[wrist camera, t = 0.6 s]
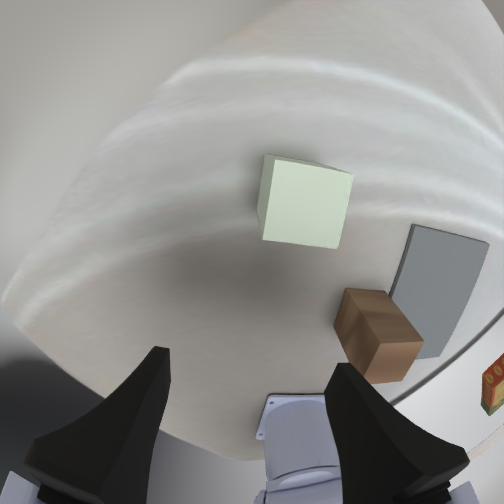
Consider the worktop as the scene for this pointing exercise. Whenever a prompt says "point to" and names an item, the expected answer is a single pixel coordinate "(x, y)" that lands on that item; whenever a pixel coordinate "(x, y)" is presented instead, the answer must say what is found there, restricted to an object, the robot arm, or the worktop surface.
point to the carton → (493, 386)
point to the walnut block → (376, 335)
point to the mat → (436, 283)
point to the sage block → (302, 202)
